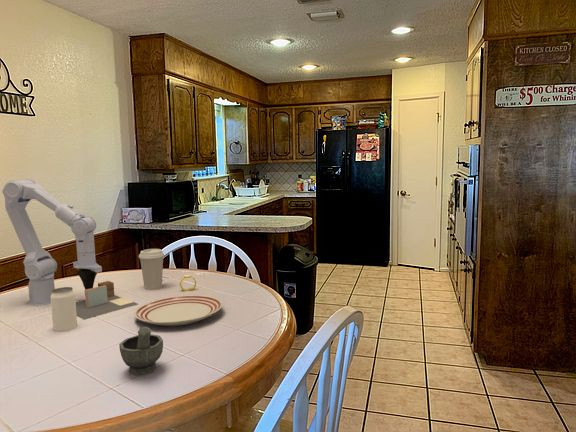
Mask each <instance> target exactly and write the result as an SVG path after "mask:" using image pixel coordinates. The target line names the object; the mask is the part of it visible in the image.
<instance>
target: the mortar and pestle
mask: <svg viewBox="0 0 576 432" xmlns="http://www.w3.org/2000/svg"><path fill="white" fill-rule="evenodd" d="M118 344H119V346H118V347H119V353H120V356H121V358H122V360H123V362H124V364H125V365H126V366H128V371H129V374H130V376H134V377H143V376H148V375H150V374H152V373H154V372H155V371H156V370H157V369H158V368H157V361H158V360H159V359H160V358H161V356H162V353H163V349H164V339H162V337H161V335H159V334H158V335H157V334H152V331H151V328H150V327H148V326H142V327H139V329H138V331H137V334H136V335H133V336H131V337H128V338H125V339H124V340H123V341H121V342H120V343H118Z"/></svg>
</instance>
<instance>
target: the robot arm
mask: <svg viewBox="0 0 576 432" xmlns="http://www.w3.org/2000/svg"><path fill="white" fill-rule="evenodd" d="M1 192H2V194H3V196H4V202H5V204H4V206H5V210H6V213H7V216H8V217H9V220H10V222H11V224H12V226H13V228H14V231H15V233H16V235H17V238H18V240H19V242H20V244H21V246H22V249H23V251H24V253H25V258H24V259H23V262H22V263H23V265H24V273H25V276H26V278H28V279H29V282H28V285H27V286H28V295H29V296H28V297H29V299H28V300H26V303H28V304H30V305H33V307H42V306H46V305H51V294H52V290H54V289H56V288H55V287H56V286H55V272H56V271H57V269H58V263H57V261H56V260H55V259H54V258H53V257H52V255H51V253H50V252H49V251H46V250H45V249H44V248H43V246H42V244H41V241H40V239H39V237H38V235H37V233H36V230H35V228H34V225H33V223H32V221H31V219H30V216H29V215H28V212H27V210H26V208H27V206H28V204H29V203H30V201H32V200H36V201H37V202H39V203H40V204H42V205H44V206H45V207H47V208H49V209H50V210H52V211H53V212H54V214H55V217H56V218H57V219H58V220H60V221H61V222H63V223H64V224H66V225H67V226H68V227H70V229H71V231H72V233H73V234H74V236H75V237H74V239H75V243H76V246H75V247H76V255H77V258H76V259H77V261H73V263H72V264H73V265H72V267H73V268H74V269H77V271H76V274H77V275H78V277H79V278H80V280H81V281H82V285H83V288H84V291H85V290H86V289H91V288H94V285H95V284H94V283H95V280H96V277H97V274H98V273H101V272H102V271H103V267H102V265H99V264H98V263H97V262H96V261H97V259H96V247H95V246H96V245H95V234H94V233H95V232H94V231H95V230H96V229H97V228H96V227H97V223H96V221H95V219H94V218H93V217H92V216H89V215H88V216H86V215H85V214H84V213H83V212H82V213H81V212H80V211H78V210H77V209H75V208H74V205H72V204H68V203H62V202H60V201H59V200H58V199H56V198H55V197H54V196H53V195H52V194H50V193H49V192H47V191H46V190H45V189H44V188H43V187H42V186H41V184H40V183H37V181H35V180H33V179H22V180H9V181H7V182H6V183H5V185H4V187H3V188H2V191H1ZM79 269H80V270H79ZM102 273H103V272H102Z"/></svg>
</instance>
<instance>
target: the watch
mask: <svg viewBox="0 0 576 432" xmlns="http://www.w3.org/2000/svg"><path fill="white" fill-rule="evenodd" d="M190 278H191V279H193V281H194V285H193V287H192V288H188V289H187V288H186V289H185V288H183V286H182V283H183V281H184V279H190ZM179 286H180V289H181V290H182V291H184V292H188V291H189V290H190V291H193V290H194V289H195V288H196V286H197V279H196V278H195V277H194V276H192V274H184V275H183V277H182V278H181V279H180V281H179Z"/></svg>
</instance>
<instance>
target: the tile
mask: <svg viewBox="0 0 576 432" xmlns="http://www.w3.org/2000/svg"><path fill="white" fill-rule="evenodd" d="M84 297H85V298H84V300H85V301H86V307H87V308H90V307H94V306H97V305H101V304H105V303H108V297H107V286H105V285H104V286H99V287H98V286H96V287H93V288H91V289H86V290H85V289H84Z"/></svg>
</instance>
